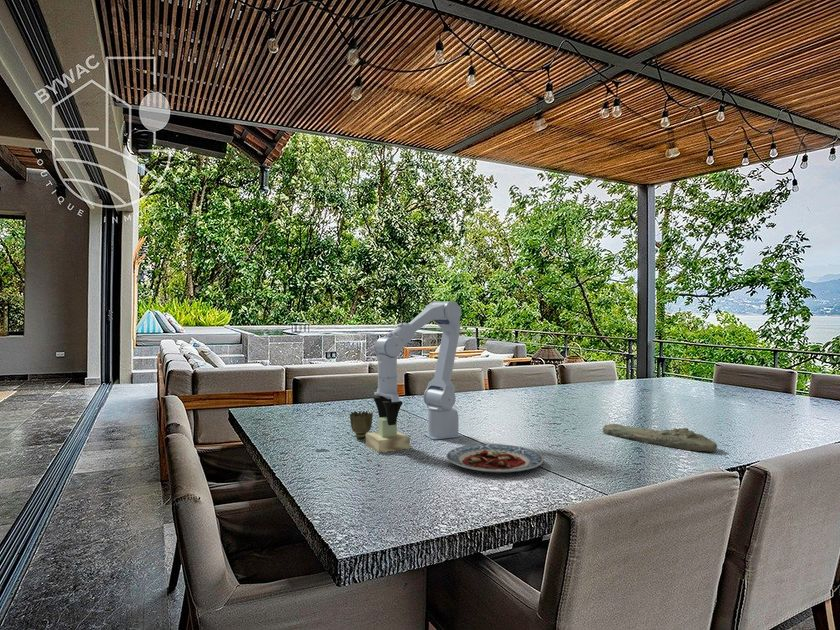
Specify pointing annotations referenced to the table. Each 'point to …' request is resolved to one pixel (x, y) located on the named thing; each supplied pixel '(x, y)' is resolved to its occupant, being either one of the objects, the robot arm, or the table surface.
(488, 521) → the table surface
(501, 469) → the ceramic plate
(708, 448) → the elongated rock
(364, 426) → the cup
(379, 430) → the green block
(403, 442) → the birch block
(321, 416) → the table surface
